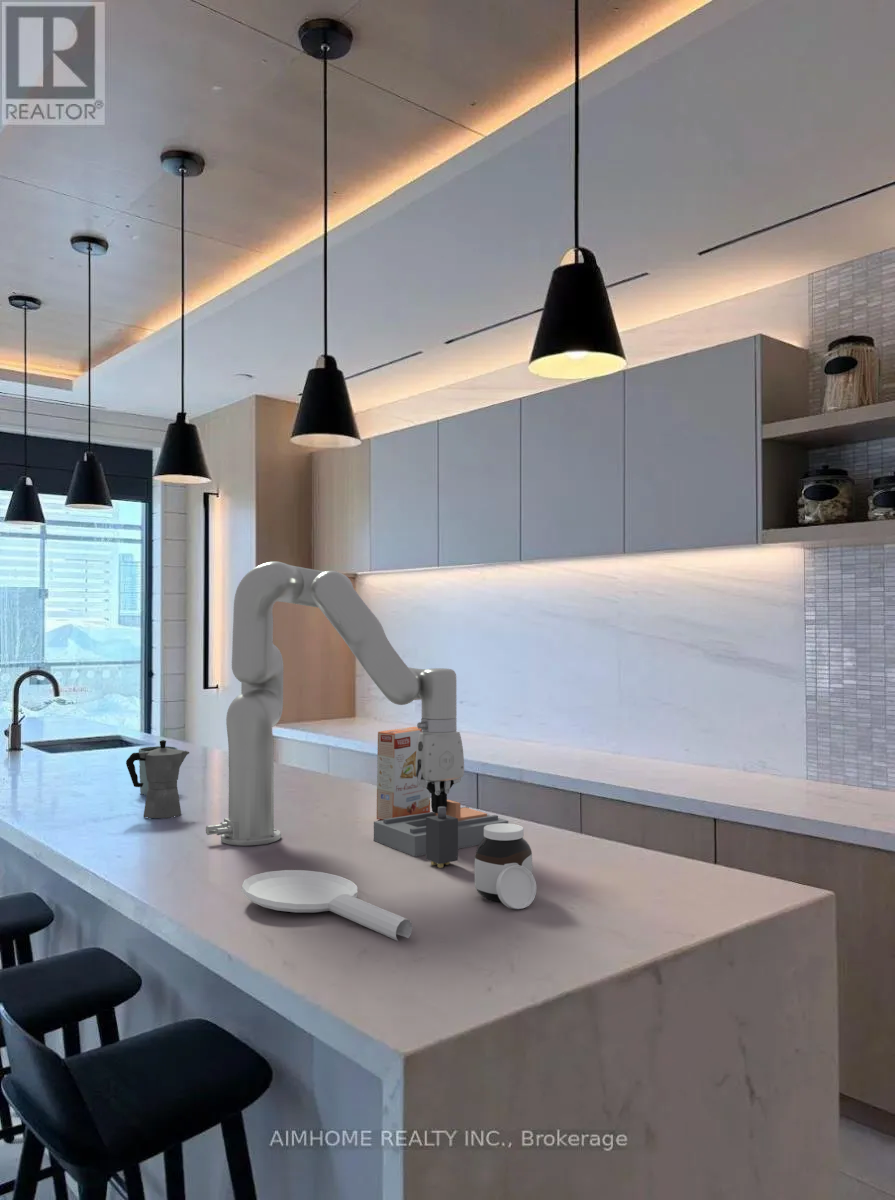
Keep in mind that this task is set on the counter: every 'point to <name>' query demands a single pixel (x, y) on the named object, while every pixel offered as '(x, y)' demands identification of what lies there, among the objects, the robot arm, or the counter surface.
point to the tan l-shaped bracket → (461, 811)
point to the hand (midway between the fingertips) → (439, 812)
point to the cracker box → (399, 775)
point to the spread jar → (505, 866)
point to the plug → (441, 838)
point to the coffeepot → (159, 780)
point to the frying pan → (321, 899)
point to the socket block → (412, 832)
